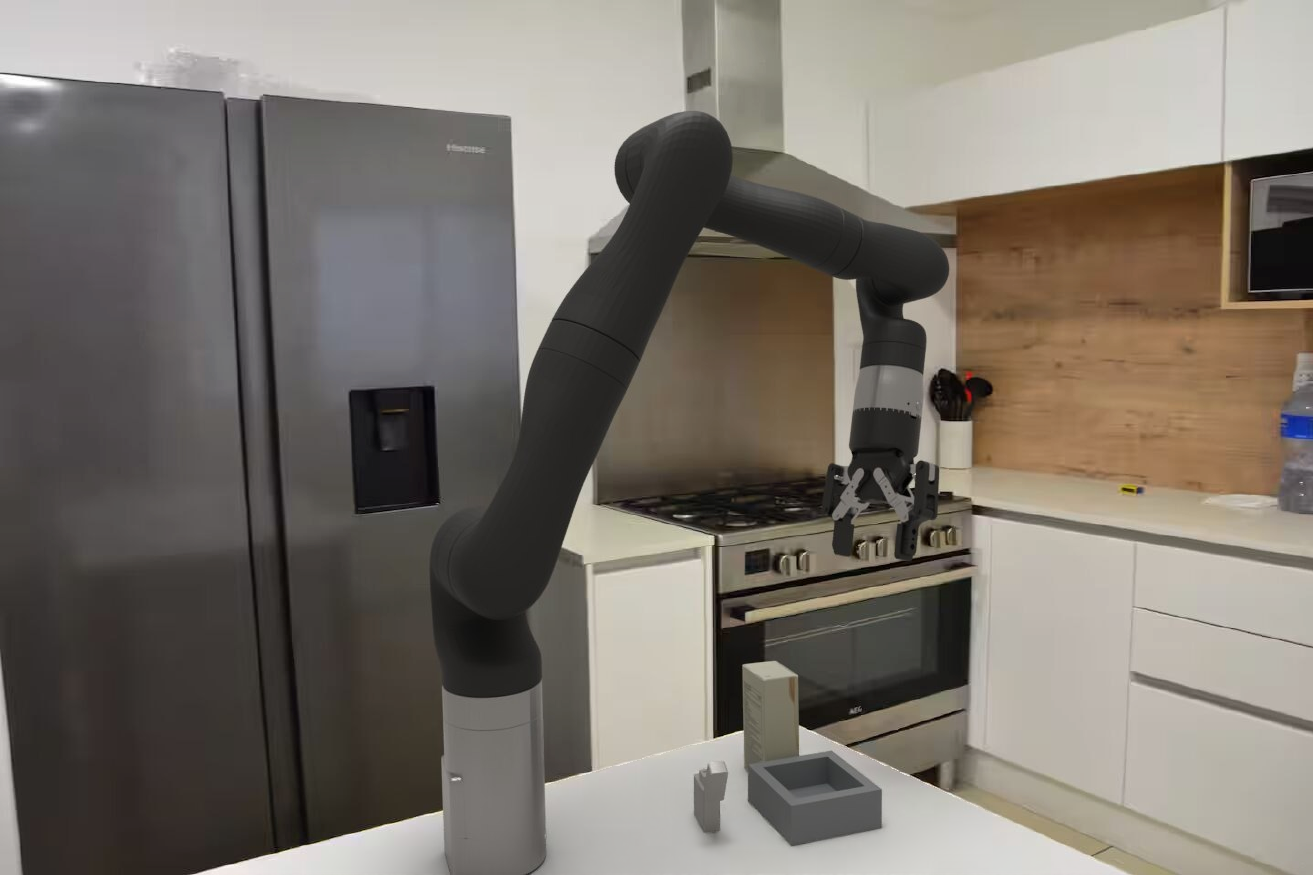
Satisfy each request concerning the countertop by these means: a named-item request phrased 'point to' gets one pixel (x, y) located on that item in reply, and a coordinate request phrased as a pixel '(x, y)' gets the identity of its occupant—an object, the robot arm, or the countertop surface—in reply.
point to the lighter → (709, 795)
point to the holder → (814, 797)
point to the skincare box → (769, 712)
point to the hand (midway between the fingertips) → (871, 557)
